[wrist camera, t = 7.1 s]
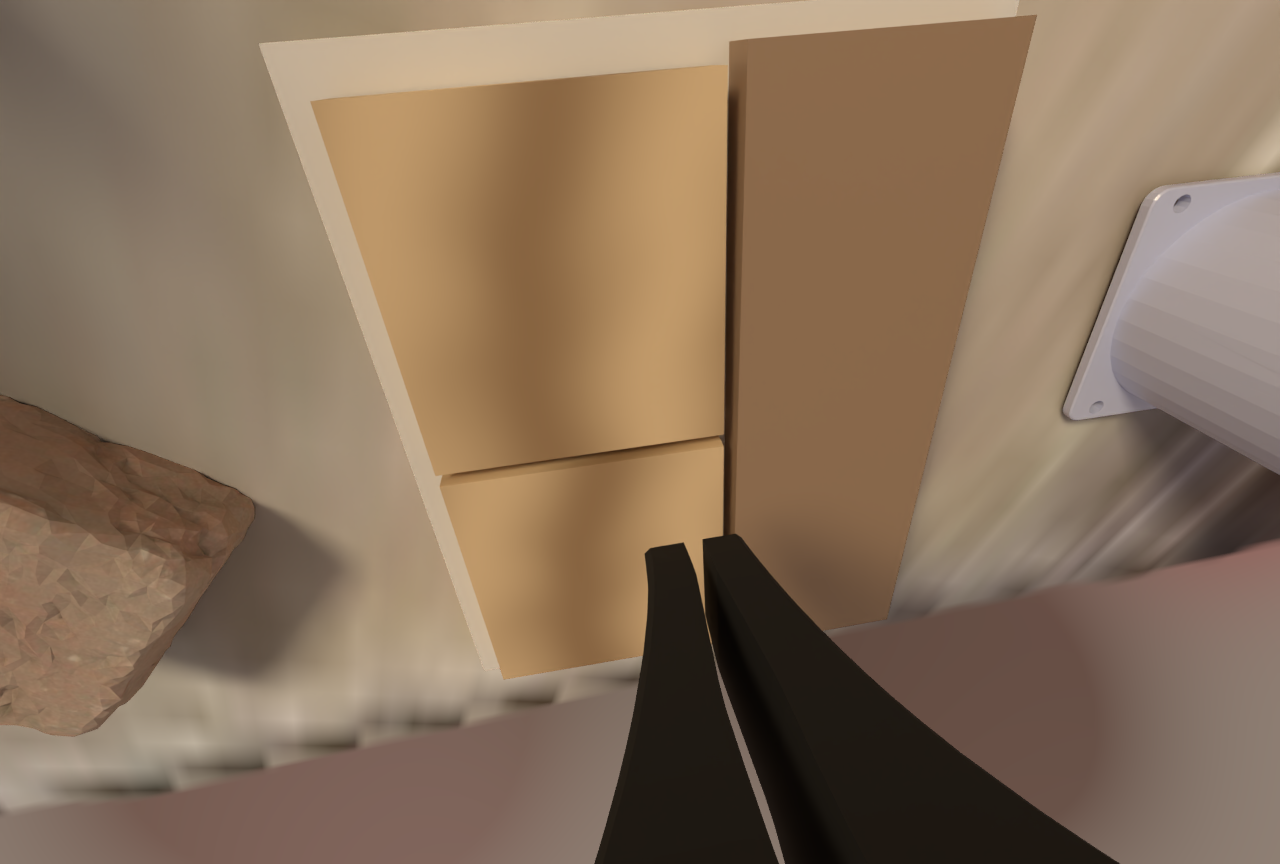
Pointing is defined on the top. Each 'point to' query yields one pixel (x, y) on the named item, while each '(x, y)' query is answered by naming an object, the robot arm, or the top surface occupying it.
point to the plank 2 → (580, 546)
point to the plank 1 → (545, 257)
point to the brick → (96, 566)
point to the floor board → (764, 245)
